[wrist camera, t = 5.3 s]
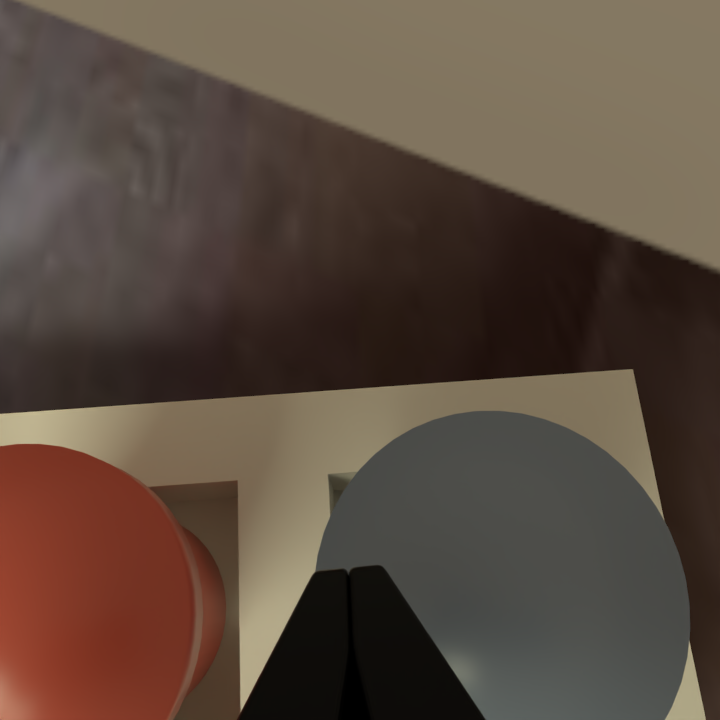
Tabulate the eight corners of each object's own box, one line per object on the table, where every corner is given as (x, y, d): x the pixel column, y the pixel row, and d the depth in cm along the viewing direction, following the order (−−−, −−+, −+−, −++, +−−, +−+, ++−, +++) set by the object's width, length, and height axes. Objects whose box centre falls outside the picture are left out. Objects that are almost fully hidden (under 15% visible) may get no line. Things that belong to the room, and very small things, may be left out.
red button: (252, 743, 16) (187, 834, 10) (-9, 763, 15) (-229, 867, 10) (248, 481, 17) (190, 431, 12) (15, 498, 17) (-157, 456, 12)
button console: (651, 775, 18) (727, 825, 14) (-342, 851, 18) (-537, 924, 14) (585, 407, 21) (632, 369, 17) (-258, 468, 21) (-398, 442, 17)
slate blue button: (598, 717, 16) (731, 792, 10) (340, 737, 16) (323, 823, 10) (557, 459, 18) (647, 398, 12) (325, 476, 17) (304, 423, 12)
